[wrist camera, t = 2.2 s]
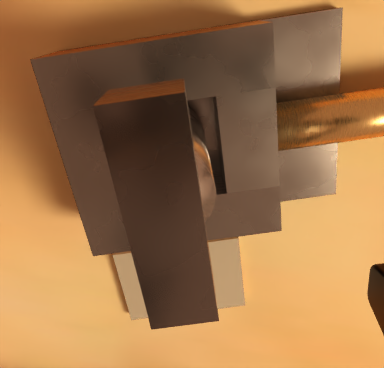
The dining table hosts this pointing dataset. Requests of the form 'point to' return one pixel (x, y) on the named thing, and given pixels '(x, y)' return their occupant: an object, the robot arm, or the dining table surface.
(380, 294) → the robot arm
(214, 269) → the mat
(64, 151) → the block
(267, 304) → the dining table surface
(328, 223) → the dining table surface
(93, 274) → the dining table surface
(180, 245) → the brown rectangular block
